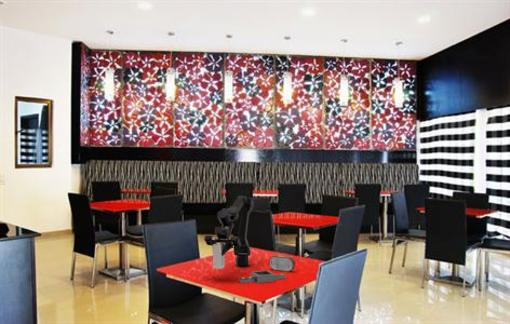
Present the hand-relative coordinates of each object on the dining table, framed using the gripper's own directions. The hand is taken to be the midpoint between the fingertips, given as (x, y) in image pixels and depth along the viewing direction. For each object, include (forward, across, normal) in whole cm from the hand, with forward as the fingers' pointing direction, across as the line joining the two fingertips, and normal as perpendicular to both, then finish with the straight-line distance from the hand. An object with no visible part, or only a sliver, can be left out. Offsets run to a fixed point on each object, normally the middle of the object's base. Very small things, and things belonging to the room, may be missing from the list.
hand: (217, 255), depth 225 cm
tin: (-12, +25, +32) cm, 42 cm away
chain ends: (+2, +21, +16) cm, 27 cm away
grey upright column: (+4, 0, +6) cm, 7 cm away
